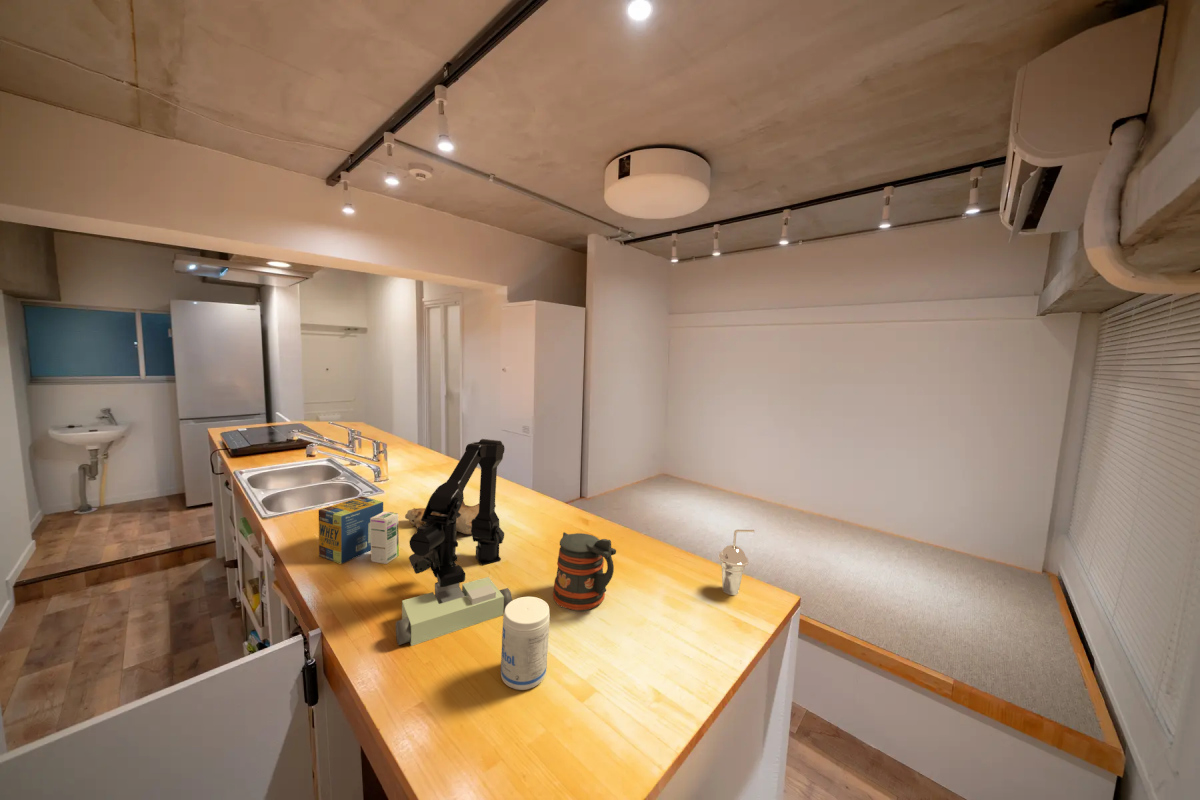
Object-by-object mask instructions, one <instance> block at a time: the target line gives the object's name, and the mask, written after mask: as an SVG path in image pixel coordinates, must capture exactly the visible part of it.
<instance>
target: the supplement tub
mask: <svg viewBox="0 0 1200 800" xmlns="http://www.w3.org/2000/svg"><path fill="white" fill-rule="evenodd" d="M502 616H503V617H502V618H503V619H502V633H501V634H502V635H501V655H500V656H501V659H500V676H501V677H500V678H501V679H502V682H503V683H504V684H505V685H506V686H507V687H509V688H512V689H514V690H517V691H524V690H531V689H532V688H535V687H536V686H538V685H539V684H541V683H542V681H543V680H544V679H545V677H546V675H547V669H548V667H547V666H548V649H549V632H550V618H551V617H550V607H549V604H548V603H547V601H545V600H543V599H541V598H540V597H539V598H538V597H536V596H523V597H522V596H521V597H518V598H515V599H512V601H511V602H510V603H508V605H507V606H506V607H505V610H504V611H503V615H502Z"/></svg>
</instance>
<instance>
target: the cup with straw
mask: <svg viewBox="0 0 1200 800" xmlns="http://www.w3.org/2000/svg"><path fill="white" fill-rule="evenodd" d="M755 532H756V531H755V529H736V530H734V531H733V541H732V544H730V545H727V546H726V547H724V548H723V549H722V551H721V552H719V554H718V556H717V557H718V559H719V561H720V565H721V583H722V591H723V593H725V594H727V595H730V596H737V595H738V594H739V590H740V587H741V582H742V577H743V573H744V571H745V568H746V566H748V565H749V559H748V557H747V556H746V554H745V551H744V550H743V549H742V548H741V547H740V546H737V544H736V541H737V533H755Z"/></svg>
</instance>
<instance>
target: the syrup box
mask: <svg viewBox="0 0 1200 800" xmlns="http://www.w3.org/2000/svg"><path fill="white" fill-rule="evenodd" d="M370 528H371V551H370V561H371V562H373V563H376V564H377V563H379V564H385V565H387V564H388V563H390V562H392V561H393V560H394V559H396V558H398V557H399V556H400V553H399V551H400V550H399V548H400V544H399V513H396V512H394V511H383V512H382V513H380V514H378V515H376V516H374V517H372V518H370Z"/></svg>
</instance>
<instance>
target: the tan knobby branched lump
mask: <svg viewBox="0 0 1200 800" xmlns="http://www.w3.org/2000/svg"><path fill="white" fill-rule="evenodd" d="M495 507H496V504H495ZM425 509H426V507H421V508H415V507H413V508H412V509H409V510H407V513H406V514H405V516H404V517H405V519H406V520H408V521H409V522H410V523H411V525H412V526H415V527H416V529H417V528H418V527H420V526H423V525H425V524H426V522H423V521H421V519H422V516H423V514H424V511H425ZM458 512H459V513H460V514H461V516H460V517H458V518H457V522H456V532H459V533H461V534H464V535H472V533H471V528H472V520H473V519H475V517H476V516H477V514H478V513H479V503H477V504H475V505H467V504H466V503H465V501H463V502H462V504H461V508H460V510H459V511H458ZM431 515H437V516H441V515H443V514H438V513H433V512H432V514H431Z"/></svg>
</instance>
